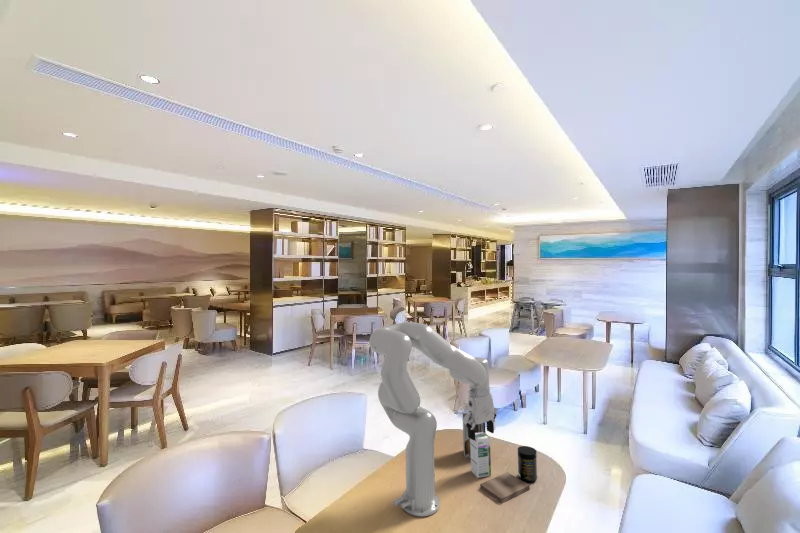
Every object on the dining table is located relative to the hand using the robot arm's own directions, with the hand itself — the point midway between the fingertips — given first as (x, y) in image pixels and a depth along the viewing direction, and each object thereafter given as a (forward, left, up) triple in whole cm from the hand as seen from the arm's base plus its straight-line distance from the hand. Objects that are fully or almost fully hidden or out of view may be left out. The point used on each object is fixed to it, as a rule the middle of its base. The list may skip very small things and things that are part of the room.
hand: (481, 435), depth 139 cm
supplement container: (+11, -12, -14) cm, 22 cm away
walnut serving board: (-1, -12, -14) cm, 19 cm away
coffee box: (+7, +12, -14) cm, 20 cm away
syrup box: (-1, 0, -14) cm, 14 cm away
